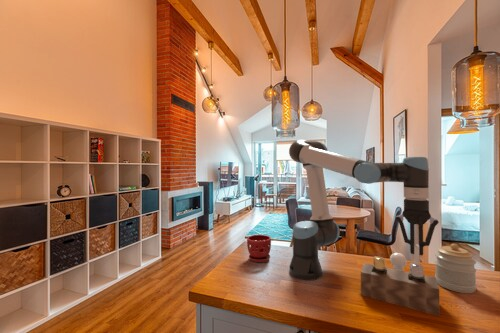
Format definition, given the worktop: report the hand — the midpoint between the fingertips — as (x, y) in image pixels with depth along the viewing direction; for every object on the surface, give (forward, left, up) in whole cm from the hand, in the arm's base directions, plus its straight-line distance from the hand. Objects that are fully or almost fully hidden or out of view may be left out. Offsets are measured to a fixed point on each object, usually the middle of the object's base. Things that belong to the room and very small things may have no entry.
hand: (416, 263), depth 85 cm
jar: (+14, +24, -15) cm, 32 cm away
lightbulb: (-6, +20, -15) cm, 26 cm away
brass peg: (-12, 0, -9) cm, 15 cm away
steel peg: (0, 0, -9) cm, 9 cm away
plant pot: (-70, +4, -15) cm, 72 cm away
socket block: (-6, 0, -15) cm, 16 cm away
